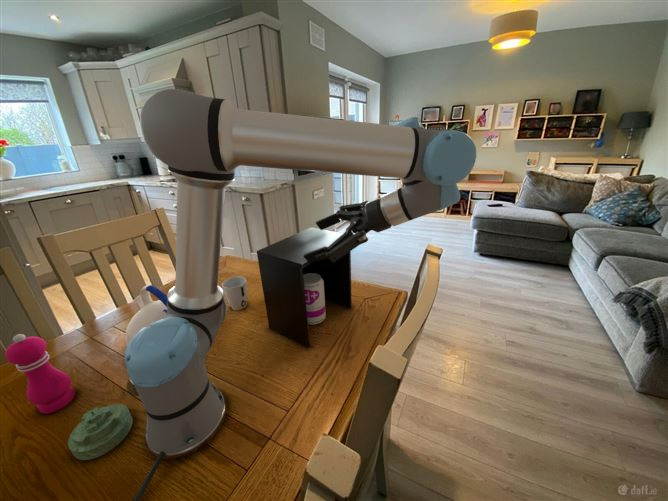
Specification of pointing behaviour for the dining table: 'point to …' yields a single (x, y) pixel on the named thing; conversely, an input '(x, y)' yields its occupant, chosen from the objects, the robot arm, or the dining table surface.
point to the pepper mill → (40, 374)
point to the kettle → (147, 311)
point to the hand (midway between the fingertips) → (313, 241)
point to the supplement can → (314, 298)
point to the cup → (236, 292)
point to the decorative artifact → (100, 431)
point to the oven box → (300, 280)
